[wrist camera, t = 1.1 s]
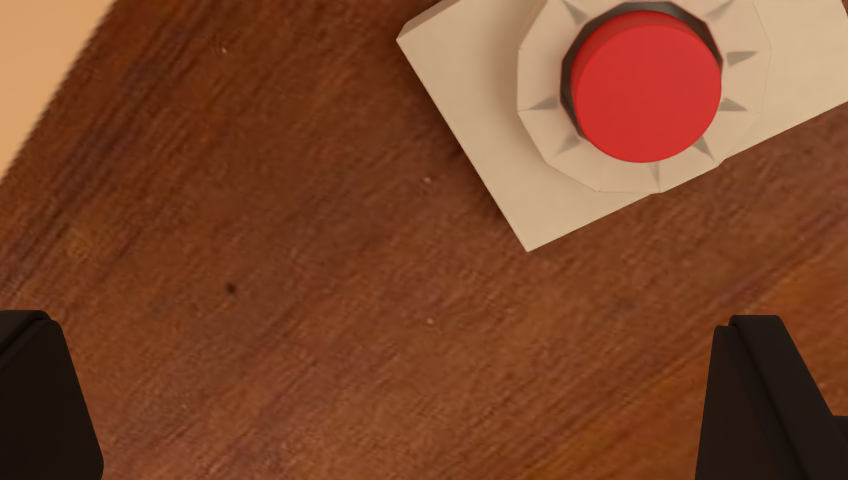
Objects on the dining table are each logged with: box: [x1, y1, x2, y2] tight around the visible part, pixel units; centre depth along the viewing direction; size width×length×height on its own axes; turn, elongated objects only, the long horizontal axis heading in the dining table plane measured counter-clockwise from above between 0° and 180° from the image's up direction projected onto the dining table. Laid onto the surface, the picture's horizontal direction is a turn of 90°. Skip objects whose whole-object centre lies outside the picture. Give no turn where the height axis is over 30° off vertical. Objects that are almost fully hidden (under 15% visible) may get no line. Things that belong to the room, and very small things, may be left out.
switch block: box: [396, 0, 848, 252], centre depth 23 cm, size 11×8×4 cm
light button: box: [570, 10, 722, 163], centre depth 21 cm, size 4×4×2 cm
